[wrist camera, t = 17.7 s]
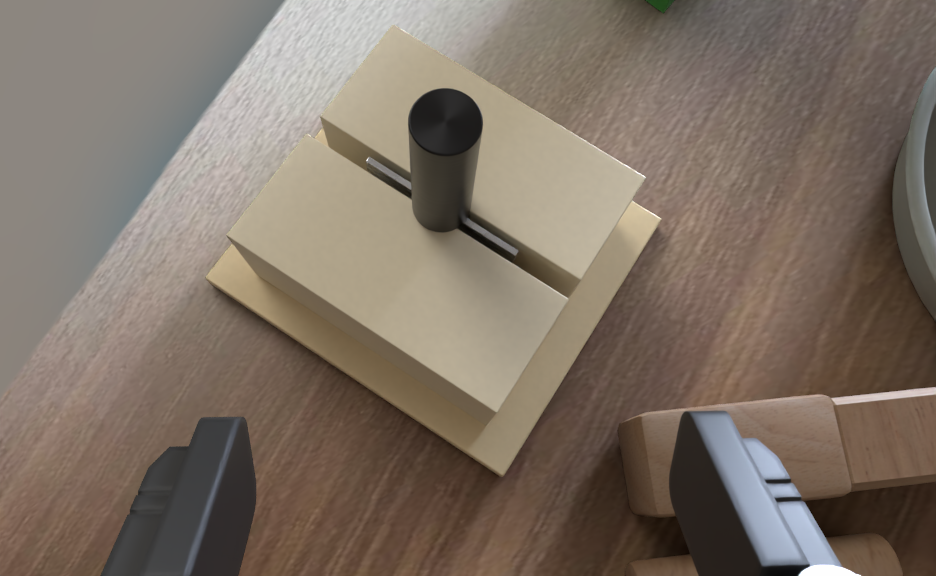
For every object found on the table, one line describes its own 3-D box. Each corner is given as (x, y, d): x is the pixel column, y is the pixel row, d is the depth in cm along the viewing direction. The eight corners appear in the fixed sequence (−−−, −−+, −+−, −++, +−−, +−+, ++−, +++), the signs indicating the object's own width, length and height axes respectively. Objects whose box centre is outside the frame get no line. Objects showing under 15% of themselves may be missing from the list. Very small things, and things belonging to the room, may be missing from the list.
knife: (361, 226, 40) (328, 89, 27) (389, 187, 41) (371, 35, 27) (490, 308, 39) (524, 211, 26) (517, 268, 40) (563, 152, 26)
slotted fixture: (209, 283, 40) (165, 239, 33) (384, 58, 44) (377, -22, 37) (501, 477, 38) (517, 473, 31) (657, 225, 42) (701, 173, 35)
